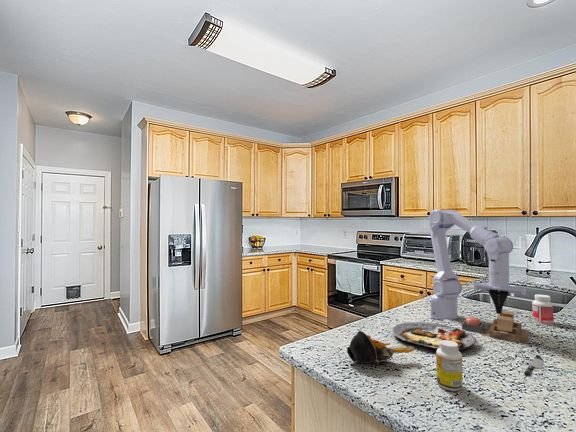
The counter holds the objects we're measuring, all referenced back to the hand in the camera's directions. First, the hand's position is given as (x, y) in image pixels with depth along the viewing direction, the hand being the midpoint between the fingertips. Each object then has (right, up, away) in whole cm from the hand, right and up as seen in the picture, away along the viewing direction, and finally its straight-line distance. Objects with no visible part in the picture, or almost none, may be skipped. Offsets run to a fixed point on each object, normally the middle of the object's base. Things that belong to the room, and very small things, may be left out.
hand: (499, 313), depth 106 cm
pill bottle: (+25, -9, +13) cm, 29 cm away
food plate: (-23, -9, -1) cm, 25 cm away
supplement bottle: (-33, -8, -31) cm, 46 cm away
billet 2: (+1, -7, -1) cm, 8 cm away
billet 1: (+6, -7, +5) cm, 11 cm away
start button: (-5, -7, +6) cm, 10 cm away
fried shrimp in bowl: (-46, -8, -18) cm, 50 cm away
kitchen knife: (-3, -9, -20) cm, 22 cm away
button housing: (-5, -8, +6) cm, 11 cm away
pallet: (+4, -8, +2) cm, 9 cm away
